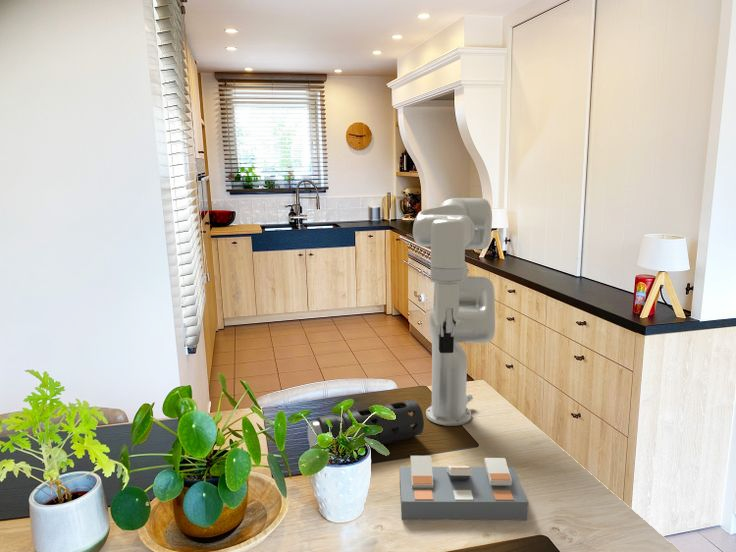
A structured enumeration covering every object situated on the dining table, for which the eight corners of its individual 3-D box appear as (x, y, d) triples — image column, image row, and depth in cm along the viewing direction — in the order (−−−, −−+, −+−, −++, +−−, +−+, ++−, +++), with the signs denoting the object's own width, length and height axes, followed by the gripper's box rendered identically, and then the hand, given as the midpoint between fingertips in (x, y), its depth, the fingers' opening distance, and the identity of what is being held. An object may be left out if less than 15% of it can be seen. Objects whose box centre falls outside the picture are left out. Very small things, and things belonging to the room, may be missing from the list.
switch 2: (447, 477, 122) (446, 464, 123) (467, 477, 122) (466, 464, 123) (450, 481, 115) (450, 468, 116) (472, 481, 115) (471, 468, 116)
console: (399, 482, 125) (399, 465, 124) (512, 483, 125) (513, 466, 124) (401, 519, 113) (401, 500, 112) (527, 520, 112) (528, 501, 111)
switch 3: (483, 466, 122) (484, 457, 122) (504, 466, 122) (505, 457, 121) (489, 489, 116) (490, 480, 115) (511, 490, 116) (512, 480, 115)
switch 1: (410, 462, 123) (410, 455, 121) (430, 462, 123) (431, 455, 121) (411, 491, 117) (412, 484, 116) (432, 491, 117) (433, 484, 115)
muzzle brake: (424, 445, 142) (424, 407, 140) (319, 469, 131) (318, 428, 129) (407, 429, 151) (407, 393, 149) (307, 451, 140) (305, 412, 138)
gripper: (427, 267, 133) (427, 341, 137) (433, 281, 119) (432, 363, 123) (459, 267, 133) (458, 341, 137) (469, 280, 119) (467, 363, 122)
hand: (446, 351), depth 130 cm, fingers closed
